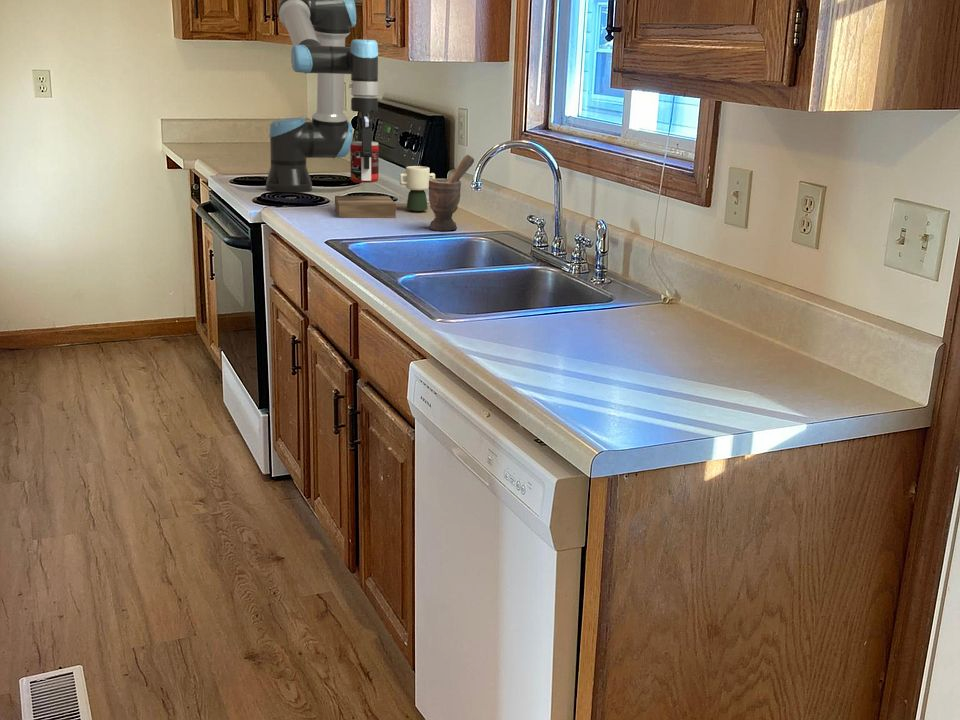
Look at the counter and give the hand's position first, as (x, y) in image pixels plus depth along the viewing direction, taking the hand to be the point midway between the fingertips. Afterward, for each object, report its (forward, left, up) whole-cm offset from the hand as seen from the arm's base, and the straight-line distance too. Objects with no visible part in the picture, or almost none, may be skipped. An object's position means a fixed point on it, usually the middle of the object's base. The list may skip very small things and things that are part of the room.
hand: (364, 178), depth 289 cm
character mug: (-4, +16, -10) cm, 19 cm away
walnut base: (0, 0, -10) cm, 10 cm away
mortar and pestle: (+27, +20, -10) cm, 35 cm away
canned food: (0, 0, -1) cm, 1 cm away
